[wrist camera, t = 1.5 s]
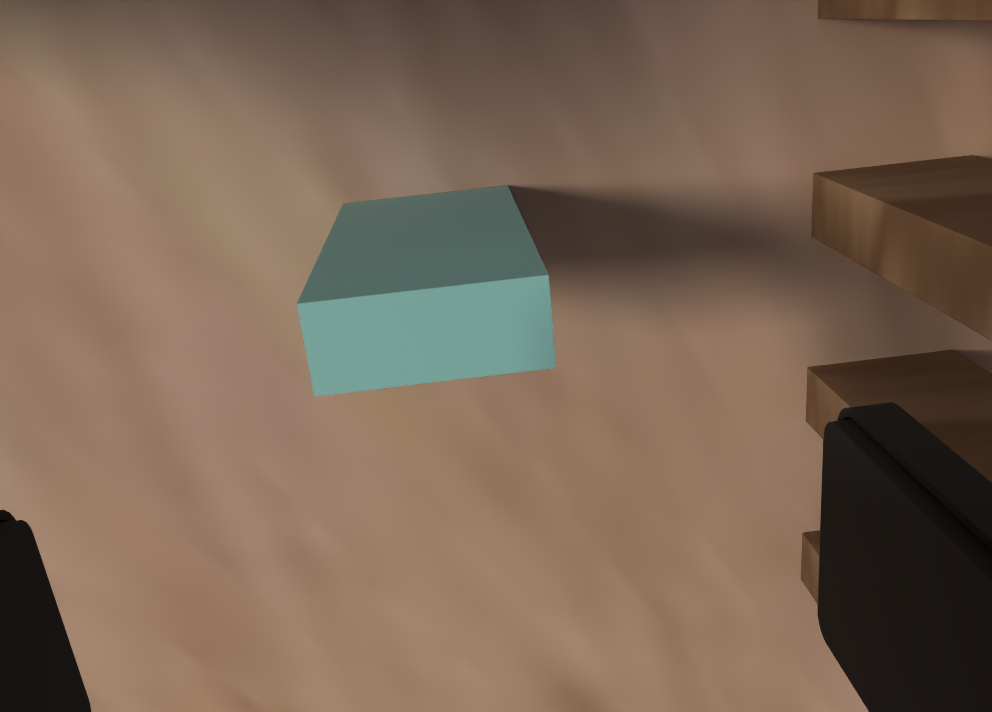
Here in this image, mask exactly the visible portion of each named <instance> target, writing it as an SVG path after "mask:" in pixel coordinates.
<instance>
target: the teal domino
mask: <svg viewBox="0 0 992 712" xmlns="http://www.w3.org/2000/svg"><path fill="white" fill-rule="evenodd" d="M297 307H298V312H299V318H300V323H301V328H302V334H303V339H304V344H305V349H306V355H307V360H308V365H309V371H310V376H311V381H312V387H313V392H314V396H322V395H330V394H338V393H347V392H355V391H364V390H372V389H381V388H389V387H398V386H406V385H415V384H423V383H432V382H440V381H448V380H457V379H465V378H474V377H482V376H491V375H499V374H508V373H516V372H525V371H533V370H542V369H550V368H556V361H555V349H554V336H553V324H552V312H551V299H550V287H549V275H548V273H547V270H546V268H545V266H544V264H543V262H542V259H541V257H540V255H539V253H538V251H537V249H536V246H535V244H534V242H533V240H532V238H531V235H530V233H529V231H528V229H527V227H526V225H525V222H524V220H523V218H522V216H521V214H520V211H519V209H518V207H517V205H516V203H515V201H514V198H513V196H512V194H511V192H510V190H509V187H508V185H507V186H498V187H489V188H480V189H471V190H463V191H454V192H445V193H436V194H427V195H418V196H409V197H400V198H391V199H382V200H373V201H364V202H355V203H346V204H343V205H342V207H341V209H340V212H339V214H338V216H337V218H336V220H335V222H334V225H333V227H332V229H331V231H330V233H329V235H328V238H327V240H326V242H325V244H324V246H323V248H322V251H321V253H320V255H319V257H318V259H317V261H316V263H315V266H314V268H313V270H312V272H311V274H310V276H309V279H308V281H307V283H306V285H305V287H304V289H303V292H302V294H301V296H300V298H299V300H298V302H297Z"/></svg>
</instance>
